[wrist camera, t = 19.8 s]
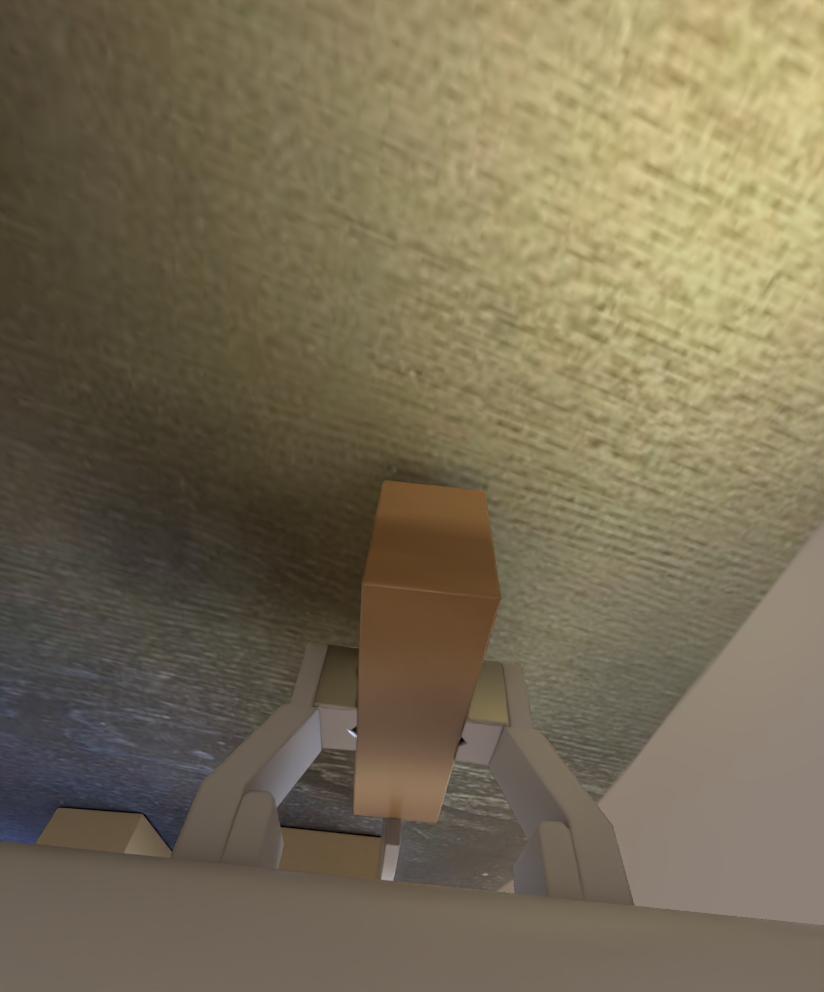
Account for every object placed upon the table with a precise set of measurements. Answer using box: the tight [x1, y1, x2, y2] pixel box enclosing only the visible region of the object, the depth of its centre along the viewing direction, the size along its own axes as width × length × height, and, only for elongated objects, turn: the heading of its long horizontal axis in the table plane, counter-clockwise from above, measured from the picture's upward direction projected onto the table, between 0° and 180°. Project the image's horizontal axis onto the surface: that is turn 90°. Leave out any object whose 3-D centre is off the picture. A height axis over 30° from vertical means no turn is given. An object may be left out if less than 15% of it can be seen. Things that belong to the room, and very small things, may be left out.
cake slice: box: [36, 808, 172, 858], centre depth 26 cm, size 5×10×5 cm, turn 179°
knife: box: [353, 480, 501, 881], centre depth 15 cm, size 22×2×4 cm, turn 175°
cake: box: [278, 827, 381, 879], centre depth 26 cm, size 9×10×5 cm
